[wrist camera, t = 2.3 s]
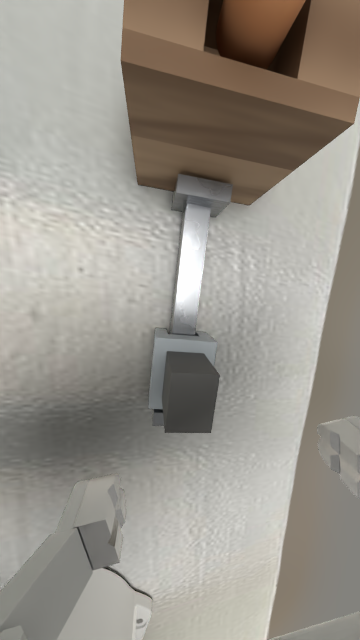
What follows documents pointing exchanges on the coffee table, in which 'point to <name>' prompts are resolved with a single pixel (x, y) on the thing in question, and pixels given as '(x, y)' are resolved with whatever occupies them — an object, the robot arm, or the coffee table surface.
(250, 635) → the coffee table surface
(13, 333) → the coffee table surface
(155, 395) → the carriage
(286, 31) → the plunger
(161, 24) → the wooden box with opening
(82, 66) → the coffee table surface
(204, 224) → the rail
